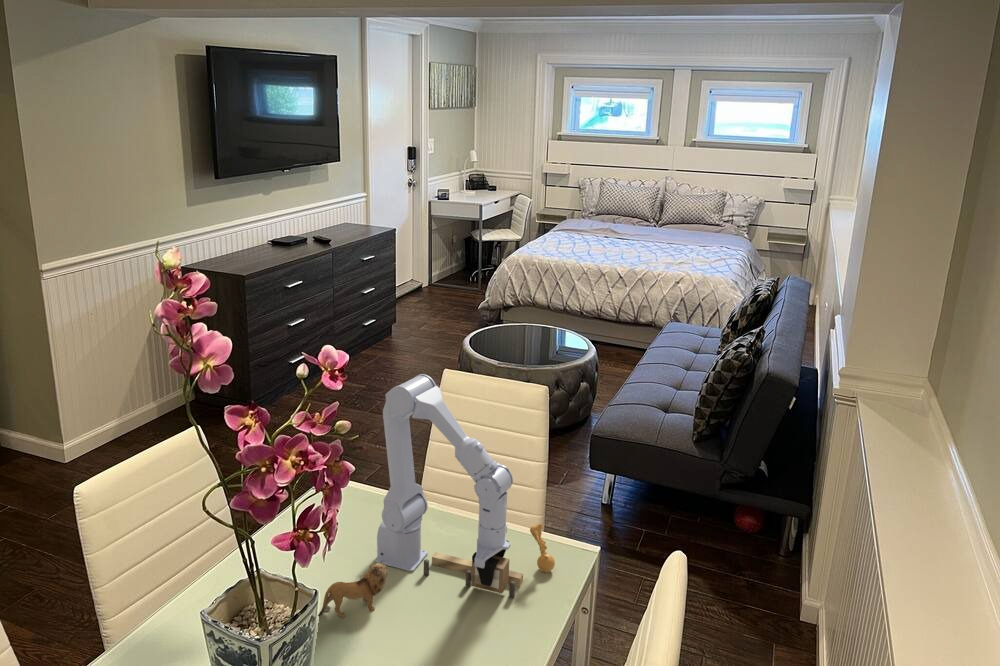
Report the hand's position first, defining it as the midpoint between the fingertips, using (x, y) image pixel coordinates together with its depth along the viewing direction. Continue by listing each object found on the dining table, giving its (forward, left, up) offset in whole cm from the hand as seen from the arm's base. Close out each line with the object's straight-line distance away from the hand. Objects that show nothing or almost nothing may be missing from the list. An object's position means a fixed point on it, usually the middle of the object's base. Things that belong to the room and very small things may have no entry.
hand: (490, 578), depth 167 cm
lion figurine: (-24, -16, -4) cm, 29 cm away
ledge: (-5, +3, -3) cm, 7 cm away
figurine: (+8, +12, -3) cm, 15 cm away
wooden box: (0, 0, -2) cm, 2 cm away
